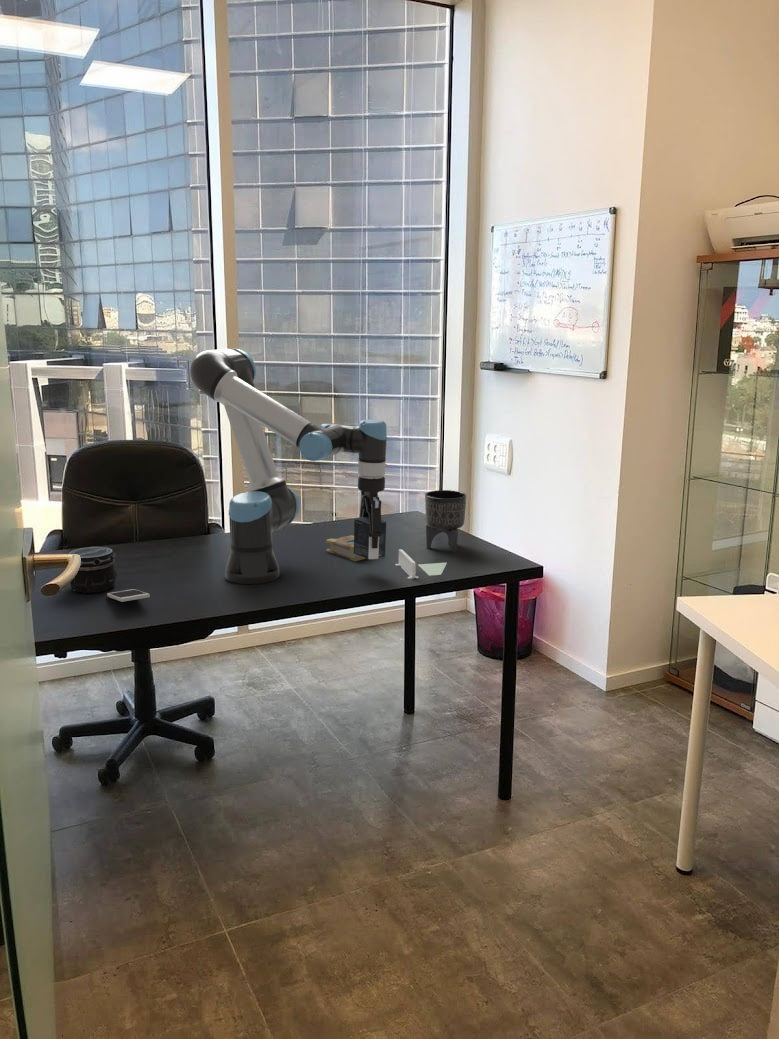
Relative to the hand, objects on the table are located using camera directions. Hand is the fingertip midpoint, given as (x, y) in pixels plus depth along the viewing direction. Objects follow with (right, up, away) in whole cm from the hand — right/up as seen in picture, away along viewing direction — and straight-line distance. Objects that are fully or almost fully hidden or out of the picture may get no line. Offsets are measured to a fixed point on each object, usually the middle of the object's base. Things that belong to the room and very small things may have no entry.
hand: (369, 553), depth 245 cm
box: (0, -1, 0) cm, 1 cm away
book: (-5, -1, +23) cm, 24 cm away
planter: (+23, 0, +28) cm, 37 cm away
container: (-75, -9, -10) cm, 76 cm away
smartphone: (-58, -12, -29) cm, 66 cm away
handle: (+11, -6, +4) cm, 13 cm away
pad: (+20, -5, +6) cm, 22 cm away
